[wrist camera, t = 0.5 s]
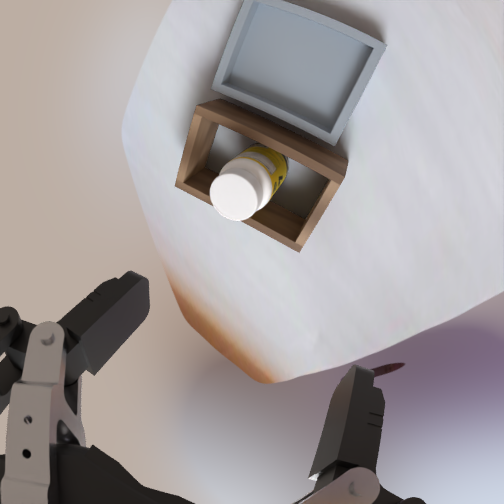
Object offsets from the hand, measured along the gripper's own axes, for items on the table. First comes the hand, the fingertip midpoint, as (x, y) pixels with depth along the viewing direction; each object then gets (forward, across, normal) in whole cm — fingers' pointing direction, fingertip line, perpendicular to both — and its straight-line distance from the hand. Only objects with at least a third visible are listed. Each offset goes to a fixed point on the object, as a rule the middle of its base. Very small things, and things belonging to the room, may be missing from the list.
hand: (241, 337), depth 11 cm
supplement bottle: (+22, +6, +1) cm, 22 cm away
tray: (+20, +5, -10) cm, 23 cm away
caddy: (+21, +6, +1) cm, 22 cm away
